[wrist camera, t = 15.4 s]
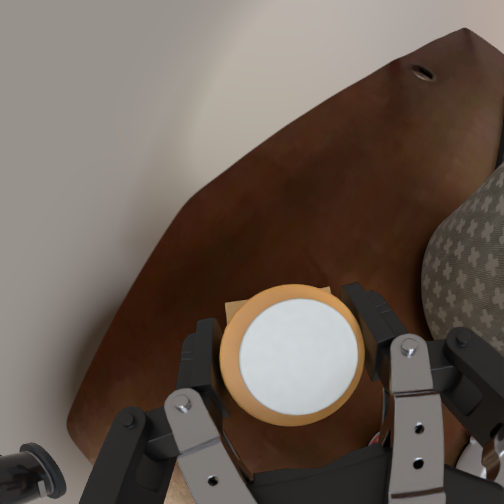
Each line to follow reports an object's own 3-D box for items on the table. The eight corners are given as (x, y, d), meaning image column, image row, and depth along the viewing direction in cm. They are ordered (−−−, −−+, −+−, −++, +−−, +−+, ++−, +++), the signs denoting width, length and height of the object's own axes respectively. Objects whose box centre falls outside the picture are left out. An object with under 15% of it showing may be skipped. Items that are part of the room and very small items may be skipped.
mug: (506, 445, 17) (530, 452, 11) (462, 495, 16) (482, 509, 10) (486, 402, 21) (514, 407, 15) (436, 459, 20) (460, 474, 14)
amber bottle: (244, 397, 16) (223, 449, 7) (234, 320, 18) (202, 284, 8) (324, 384, 16) (390, 415, 7) (312, 308, 18) (364, 260, 8)
